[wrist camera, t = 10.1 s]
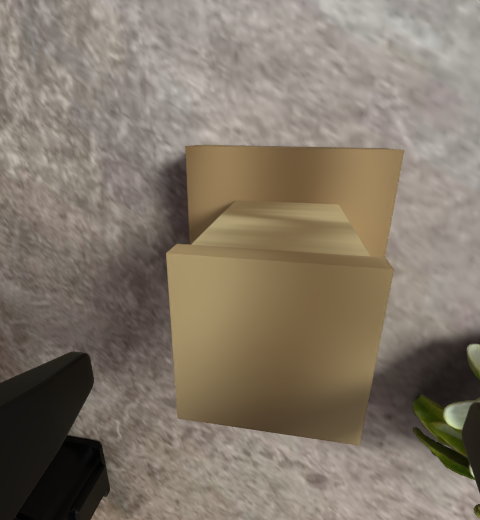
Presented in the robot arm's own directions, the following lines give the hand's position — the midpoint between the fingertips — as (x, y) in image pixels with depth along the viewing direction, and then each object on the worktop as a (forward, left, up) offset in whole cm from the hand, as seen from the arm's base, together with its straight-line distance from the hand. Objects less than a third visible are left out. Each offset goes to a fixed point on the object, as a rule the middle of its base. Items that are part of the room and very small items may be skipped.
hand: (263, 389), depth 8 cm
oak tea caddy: (0, 0, -10) cm, 10 cm away
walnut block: (0, 0, -13) cm, 13 cm away
